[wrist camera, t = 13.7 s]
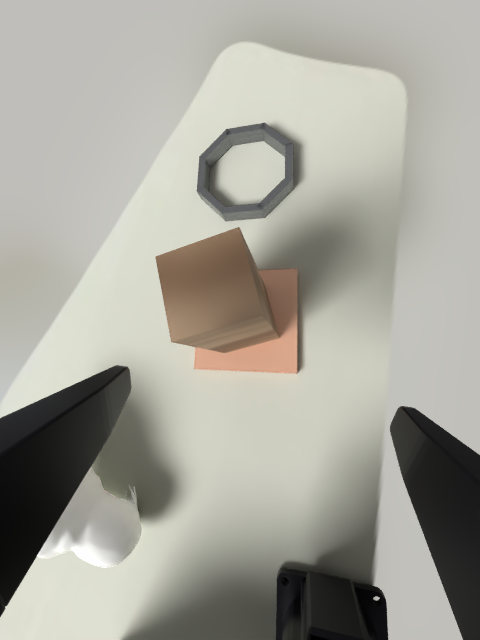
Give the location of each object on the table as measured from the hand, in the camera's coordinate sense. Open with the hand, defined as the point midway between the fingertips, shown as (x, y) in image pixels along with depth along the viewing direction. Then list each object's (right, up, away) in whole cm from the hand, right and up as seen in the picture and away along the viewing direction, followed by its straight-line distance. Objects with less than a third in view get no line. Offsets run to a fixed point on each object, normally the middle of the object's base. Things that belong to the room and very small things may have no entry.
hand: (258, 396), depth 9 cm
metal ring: (0, +15, +15) cm, 21 cm away
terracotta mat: (0, +2, +13) cm, 13 cm away
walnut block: (0, +3, +12) cm, 13 cm away
